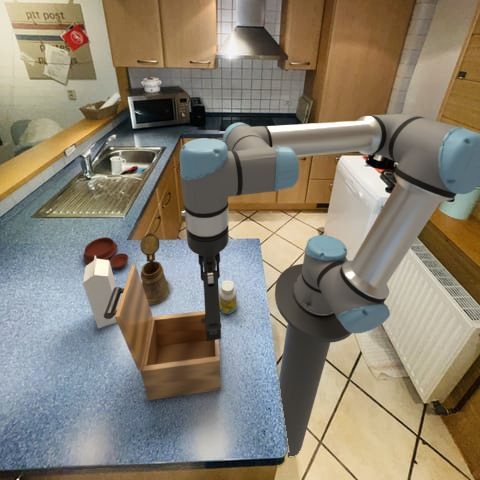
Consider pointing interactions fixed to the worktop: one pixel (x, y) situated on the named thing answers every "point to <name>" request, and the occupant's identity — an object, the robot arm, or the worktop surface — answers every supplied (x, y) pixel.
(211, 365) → the chest
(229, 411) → the worktop surface
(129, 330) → the chest lid
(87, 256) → the pottery
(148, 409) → the worktop surface
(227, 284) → the supplement bottle
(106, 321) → the milk
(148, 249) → the wooden mug
